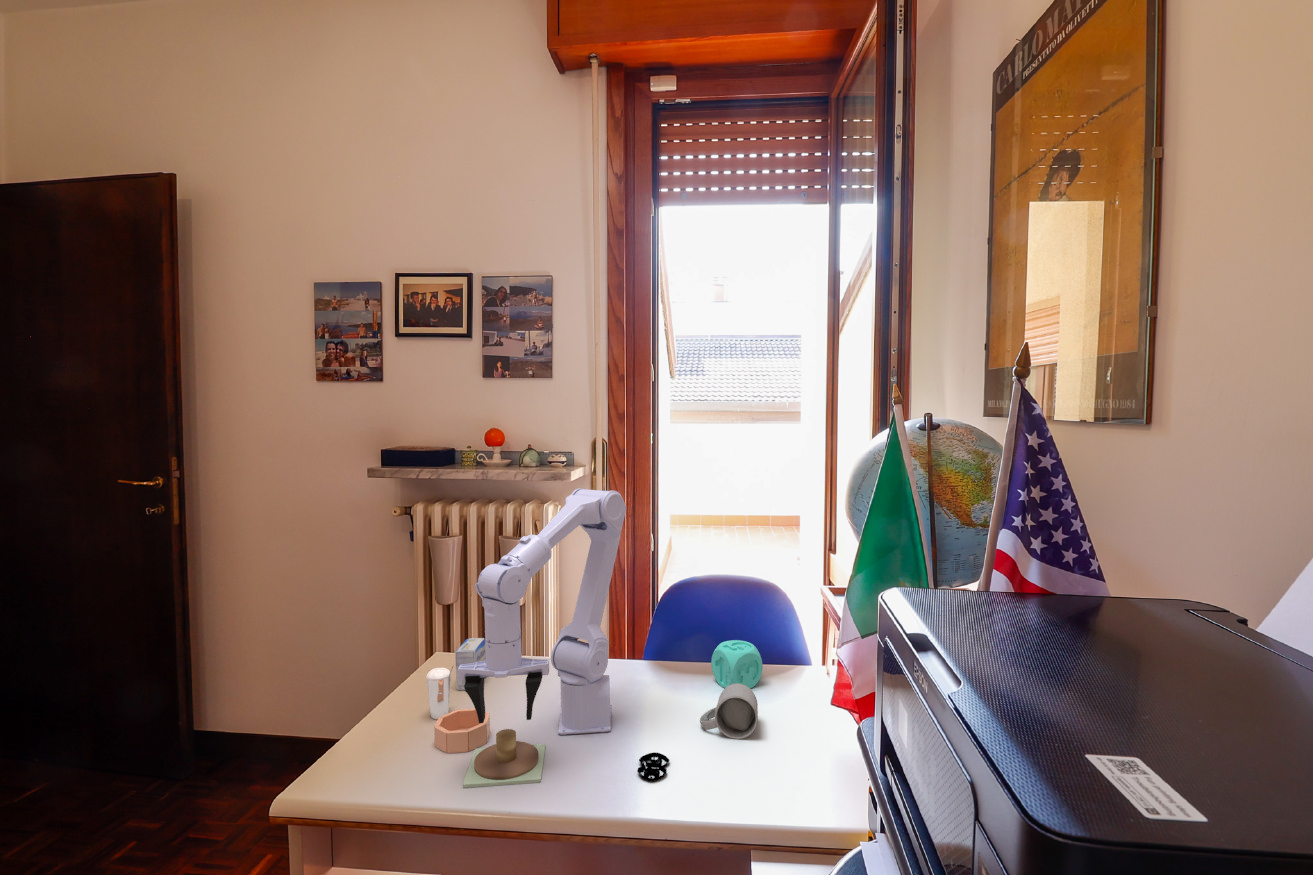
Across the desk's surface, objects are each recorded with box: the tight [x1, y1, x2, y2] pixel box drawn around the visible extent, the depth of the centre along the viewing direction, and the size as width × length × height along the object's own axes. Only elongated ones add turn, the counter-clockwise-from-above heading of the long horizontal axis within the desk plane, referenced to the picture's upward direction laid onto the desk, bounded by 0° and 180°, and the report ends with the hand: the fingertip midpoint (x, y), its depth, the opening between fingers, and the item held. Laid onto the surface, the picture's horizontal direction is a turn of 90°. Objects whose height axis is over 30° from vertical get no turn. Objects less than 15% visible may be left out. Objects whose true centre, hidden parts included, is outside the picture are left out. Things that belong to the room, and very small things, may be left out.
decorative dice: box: [710, 639, 764, 690], centre depth 138 cm, size 8×8×8 cm
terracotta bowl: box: [433, 708, 491, 754], centre depth 115 cm, size 9×9×4 cm
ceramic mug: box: [699, 684, 759, 740], centre depth 118 cm, size 11×8×8 cm
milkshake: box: [425, 665, 454, 720], centre depth 125 cm, size 4×5×10 cm
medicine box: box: [454, 637, 486, 691], centre depth 140 cm, size 8×4×9 cm, turn 179°
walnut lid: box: [474, 728, 539, 780], centre depth 107 cm, size 10×10×5 cm
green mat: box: [462, 743, 547, 789], centre depth 106 cm, size 12×11×1 cm
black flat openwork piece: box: [636, 752, 670, 783], centre depth 105 cm, size 5×8×1 cm, turn 174°
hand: (505, 718), depth 106 cm, fingers open, 7 cm apart
